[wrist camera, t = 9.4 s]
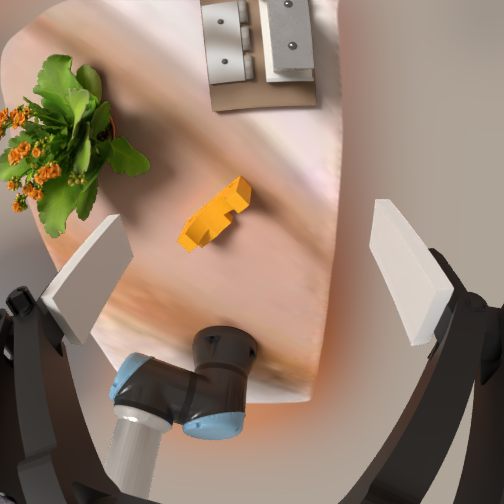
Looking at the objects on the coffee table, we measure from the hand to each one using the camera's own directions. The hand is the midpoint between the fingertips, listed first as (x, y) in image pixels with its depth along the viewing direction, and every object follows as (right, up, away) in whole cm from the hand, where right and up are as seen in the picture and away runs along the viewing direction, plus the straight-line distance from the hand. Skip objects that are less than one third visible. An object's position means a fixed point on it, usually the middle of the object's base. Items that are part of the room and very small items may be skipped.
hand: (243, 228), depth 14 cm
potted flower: (-25, +18, +24) cm, 39 cm away
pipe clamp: (-4, +6, +31) cm, 32 cm away
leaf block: (+5, +26, +14) cm, 30 cm away
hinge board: (+1, +27, +16) cm, 31 cm away
